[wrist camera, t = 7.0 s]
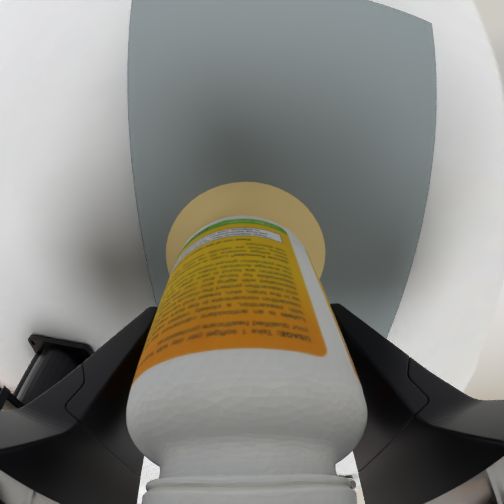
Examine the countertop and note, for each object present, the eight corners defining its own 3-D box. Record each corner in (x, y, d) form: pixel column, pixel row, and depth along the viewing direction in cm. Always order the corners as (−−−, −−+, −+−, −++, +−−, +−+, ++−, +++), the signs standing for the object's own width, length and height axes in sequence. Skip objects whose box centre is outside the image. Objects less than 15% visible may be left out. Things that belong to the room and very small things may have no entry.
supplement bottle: (152, 277, 11) (67, 516, 2) (240, 181, 9) (239, 576, 1) (246, 342, 13) (252, 549, 4) (335, 272, 11) (434, 508, 3)
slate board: (178, 363, 16) (175, 375, 15) (138, 5, 7) (130, -2, 6) (372, 354, 17) (376, 364, 16) (422, 26, 7) (433, 22, 7)
